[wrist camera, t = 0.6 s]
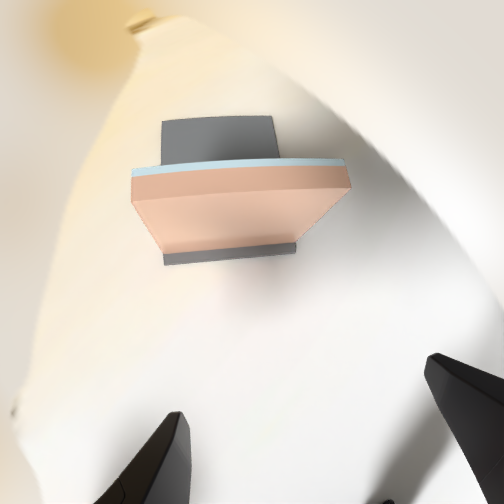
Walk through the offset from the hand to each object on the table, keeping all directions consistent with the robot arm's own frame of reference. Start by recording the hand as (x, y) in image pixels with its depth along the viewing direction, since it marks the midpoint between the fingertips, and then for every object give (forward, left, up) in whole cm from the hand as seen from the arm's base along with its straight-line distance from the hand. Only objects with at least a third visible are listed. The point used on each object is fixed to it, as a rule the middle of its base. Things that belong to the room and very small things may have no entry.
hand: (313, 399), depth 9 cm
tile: (+9, -2, -12) cm, 15 cm away
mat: (+14, -3, -12) cm, 19 cm away
